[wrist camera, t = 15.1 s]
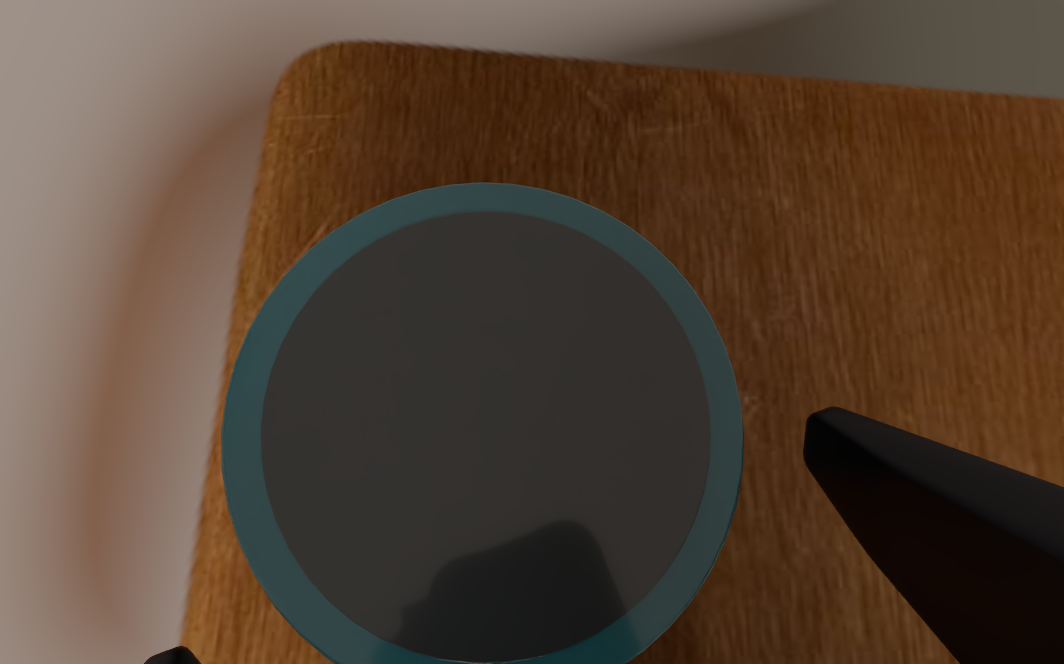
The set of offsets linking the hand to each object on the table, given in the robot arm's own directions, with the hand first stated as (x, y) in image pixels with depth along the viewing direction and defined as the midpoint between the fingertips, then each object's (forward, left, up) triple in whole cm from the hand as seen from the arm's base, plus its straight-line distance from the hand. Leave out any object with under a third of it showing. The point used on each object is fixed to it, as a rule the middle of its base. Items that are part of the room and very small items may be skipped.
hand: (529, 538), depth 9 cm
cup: (-1, +1, -9) cm, 9 cm away
